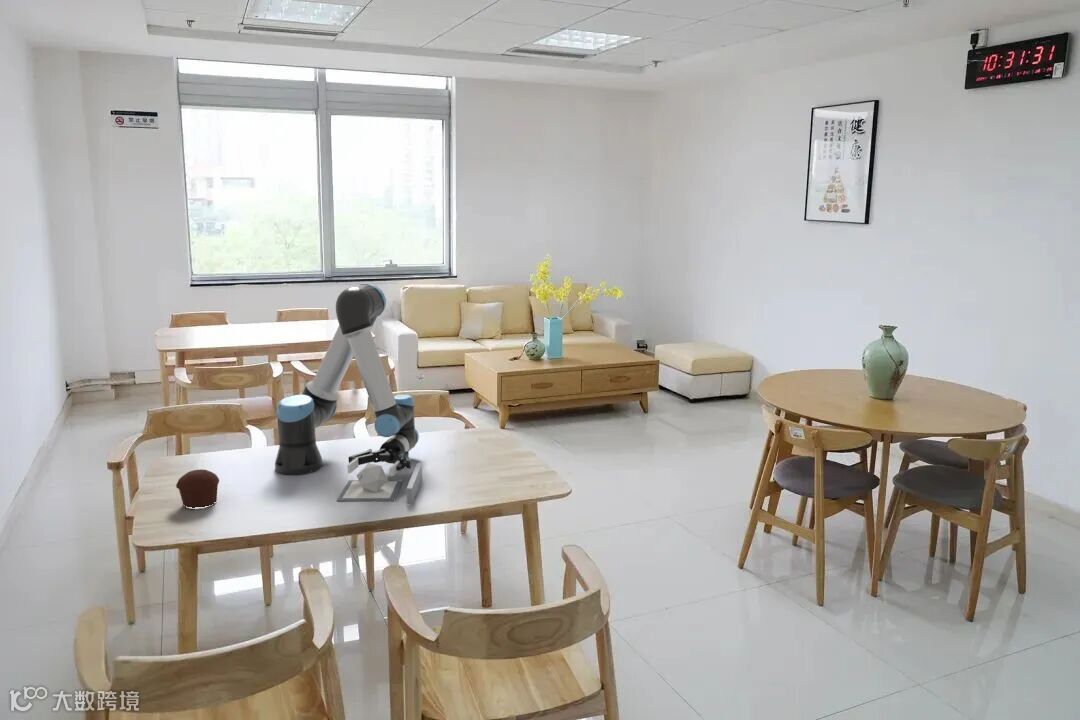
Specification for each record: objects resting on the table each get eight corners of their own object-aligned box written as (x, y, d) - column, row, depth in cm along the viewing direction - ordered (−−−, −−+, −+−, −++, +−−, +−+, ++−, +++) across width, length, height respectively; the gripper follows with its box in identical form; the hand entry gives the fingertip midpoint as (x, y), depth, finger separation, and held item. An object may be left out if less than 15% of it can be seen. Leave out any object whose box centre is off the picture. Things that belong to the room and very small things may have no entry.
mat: (336, 501, 235) (336, 499, 235) (349, 481, 252) (348, 479, 252) (394, 501, 235) (393, 499, 235) (402, 481, 252) (402, 479, 252)
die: (362, 486, 248) (348, 468, 241) (386, 470, 249) (373, 452, 243) (371, 503, 242) (357, 485, 235) (395, 487, 244) (382, 468, 237)
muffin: (215, 494, 241) (213, 462, 239) (226, 505, 232) (223, 472, 230) (173, 502, 234) (170, 470, 232) (182, 514, 225) (179, 481, 223)
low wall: (407, 504, 233) (406, 488, 232) (417, 478, 255) (416, 463, 254) (412, 504, 233) (412, 488, 232) (422, 478, 255) (421, 463, 254)
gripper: (430, 462, 261) (409, 484, 240) (358, 458, 265) (331, 479, 244) (430, 440, 259) (408, 461, 239) (357, 436, 263) (330, 456, 243)
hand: (369, 470), depth 242 cm, fingers open, 13 cm apart
